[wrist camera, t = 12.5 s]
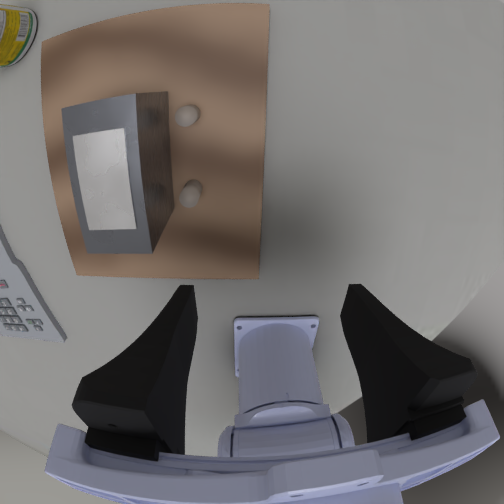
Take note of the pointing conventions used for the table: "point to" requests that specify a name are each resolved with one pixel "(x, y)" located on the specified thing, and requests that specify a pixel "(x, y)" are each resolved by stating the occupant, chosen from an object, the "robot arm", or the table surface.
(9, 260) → the office telephone
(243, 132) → the pin tray
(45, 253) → the table surface
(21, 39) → the supplement bottle
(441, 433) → the robot arm
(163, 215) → the block
